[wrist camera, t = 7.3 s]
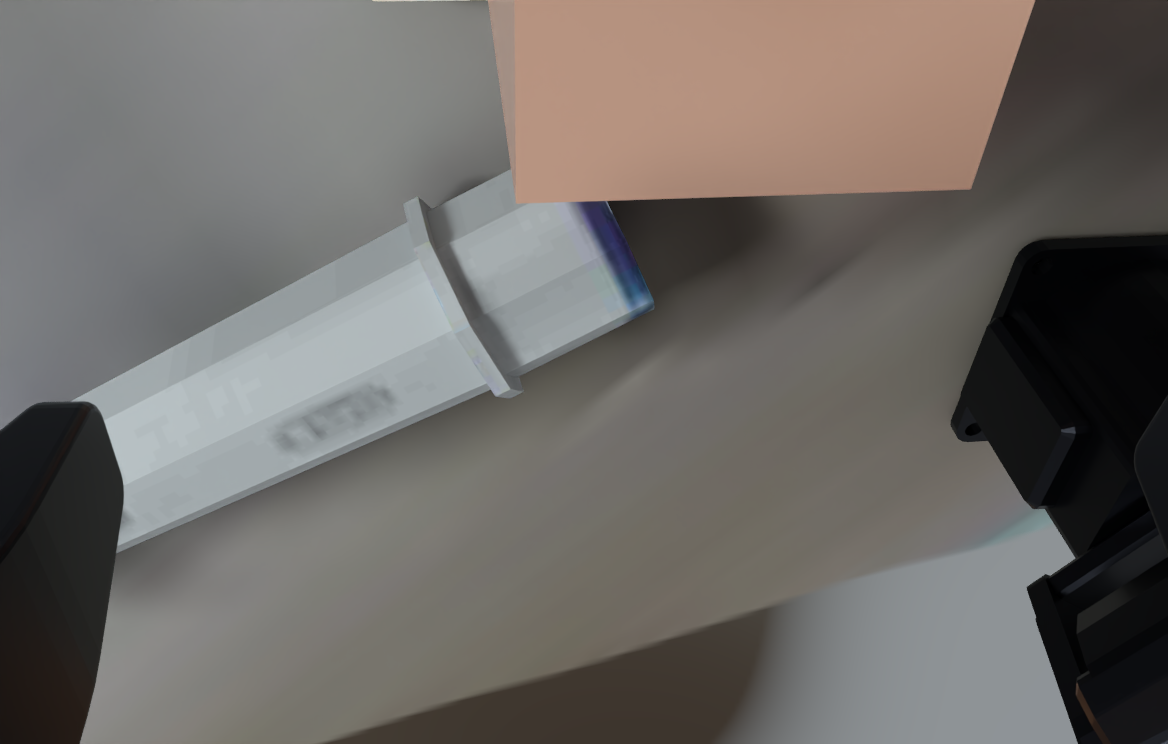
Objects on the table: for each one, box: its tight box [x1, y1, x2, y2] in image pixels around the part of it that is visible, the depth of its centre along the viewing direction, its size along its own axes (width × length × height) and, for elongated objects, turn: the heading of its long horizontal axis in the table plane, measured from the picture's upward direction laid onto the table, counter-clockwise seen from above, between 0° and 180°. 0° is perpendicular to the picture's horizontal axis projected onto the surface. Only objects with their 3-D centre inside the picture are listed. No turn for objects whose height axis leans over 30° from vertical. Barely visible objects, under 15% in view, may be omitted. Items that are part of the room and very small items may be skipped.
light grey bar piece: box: [71, 169, 655, 553], centre depth 22 cm, size 5×7×25 cm
